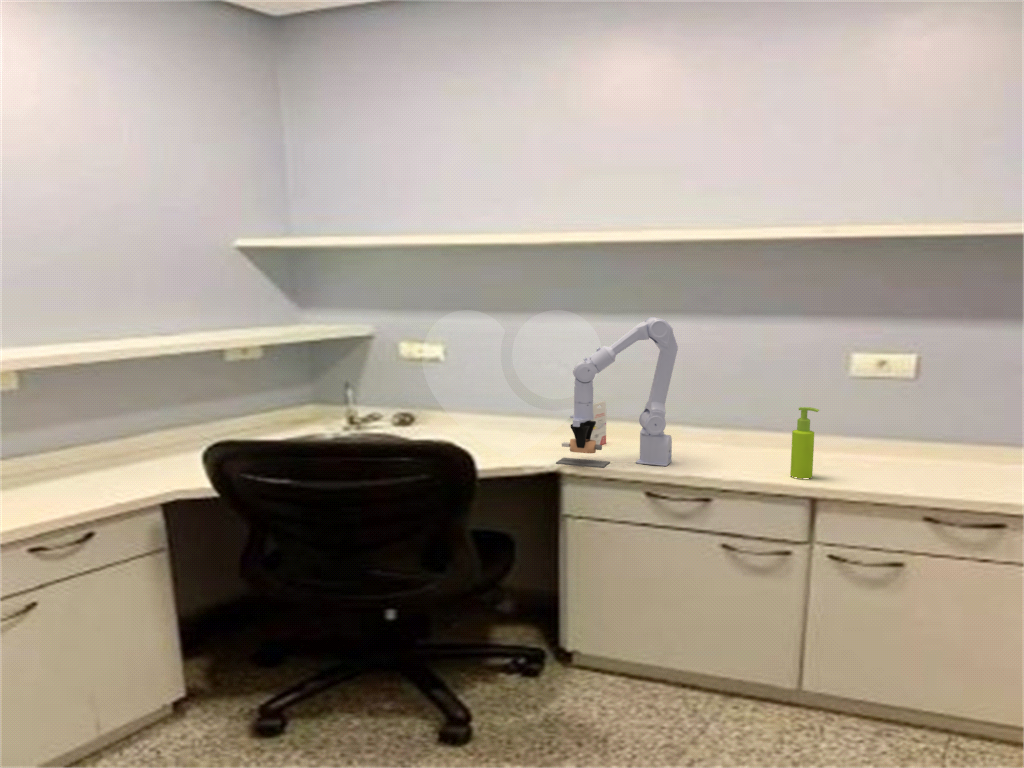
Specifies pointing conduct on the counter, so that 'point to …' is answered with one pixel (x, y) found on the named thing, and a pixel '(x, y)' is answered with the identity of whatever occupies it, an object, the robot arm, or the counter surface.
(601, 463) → the mat
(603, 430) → the ink cartridge box
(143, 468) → the counter surface
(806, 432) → the soap dispenser
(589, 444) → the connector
